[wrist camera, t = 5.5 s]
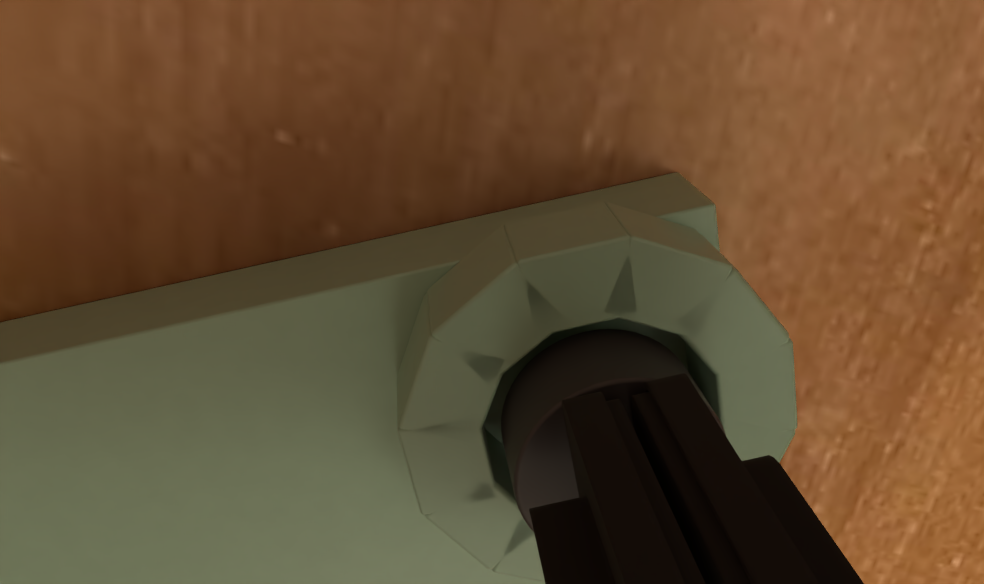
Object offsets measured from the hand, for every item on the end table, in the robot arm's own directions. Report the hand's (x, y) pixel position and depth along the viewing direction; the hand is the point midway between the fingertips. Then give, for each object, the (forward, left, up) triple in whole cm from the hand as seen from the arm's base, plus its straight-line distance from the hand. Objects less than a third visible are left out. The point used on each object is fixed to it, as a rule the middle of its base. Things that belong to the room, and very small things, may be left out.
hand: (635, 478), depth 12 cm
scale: (+6, +5, -5) cm, 9 cm away
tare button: (0, 0, -2) cm, 2 cm away
